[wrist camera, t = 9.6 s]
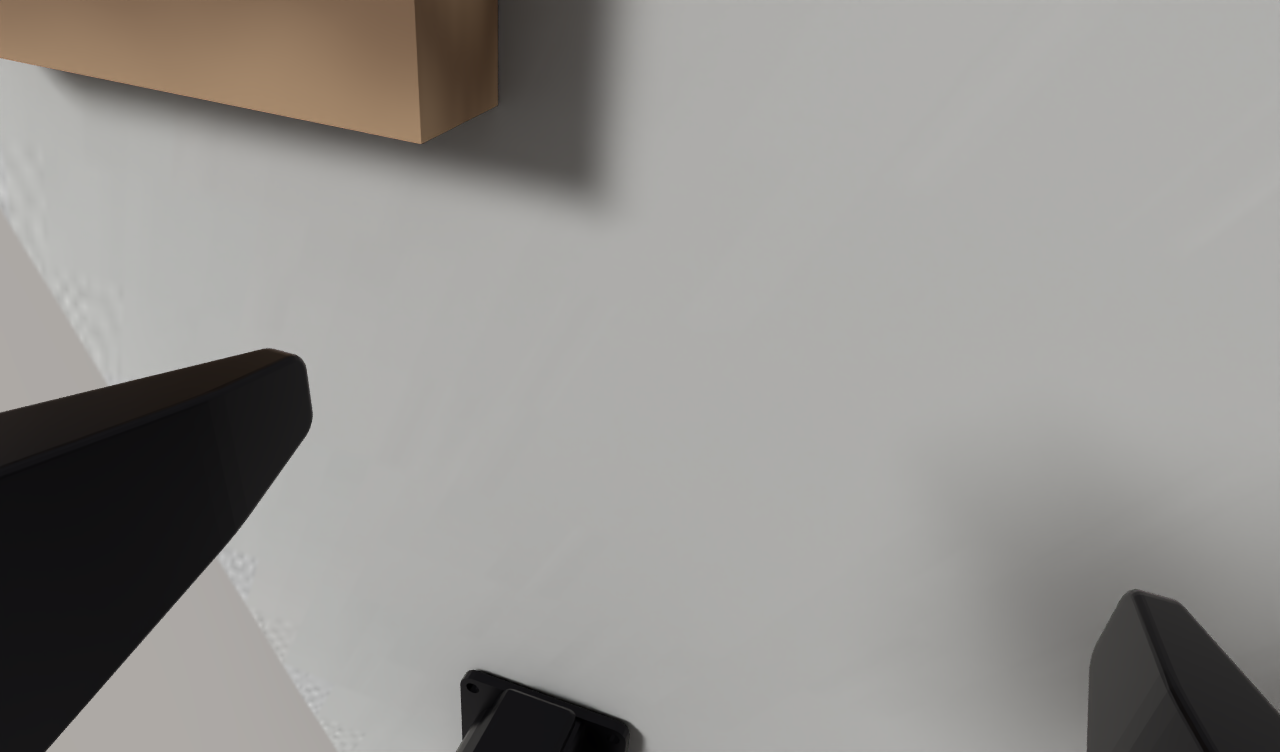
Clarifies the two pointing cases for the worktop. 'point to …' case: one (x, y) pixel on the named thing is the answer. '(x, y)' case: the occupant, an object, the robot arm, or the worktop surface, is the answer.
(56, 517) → the robot arm
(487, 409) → the worktop surface
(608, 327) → the worktop surface
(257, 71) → the socket board
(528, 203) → the worktop surface
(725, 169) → the worktop surface
